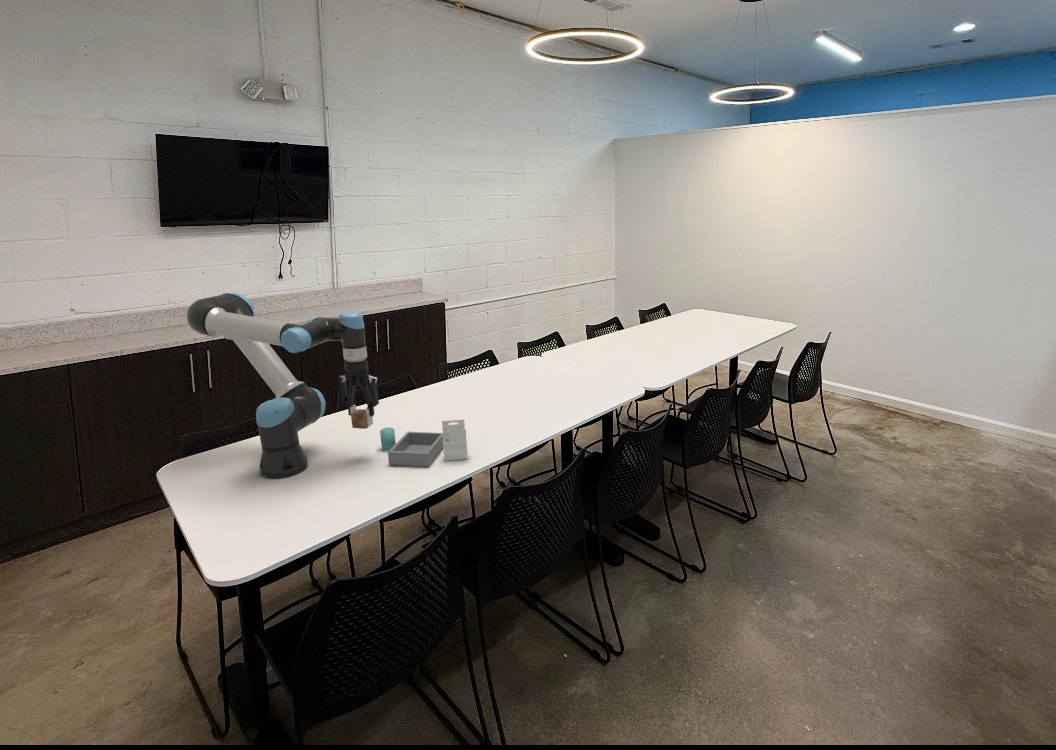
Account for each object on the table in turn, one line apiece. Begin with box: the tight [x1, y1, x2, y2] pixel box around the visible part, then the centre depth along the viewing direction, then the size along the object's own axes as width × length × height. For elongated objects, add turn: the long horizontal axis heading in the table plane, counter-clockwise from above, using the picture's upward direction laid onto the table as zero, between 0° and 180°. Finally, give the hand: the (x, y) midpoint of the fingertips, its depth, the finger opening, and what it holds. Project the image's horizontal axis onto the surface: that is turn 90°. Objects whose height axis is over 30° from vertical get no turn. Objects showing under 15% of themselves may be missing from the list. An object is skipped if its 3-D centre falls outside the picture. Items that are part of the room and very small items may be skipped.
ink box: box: [441, 419, 469, 462], centre depth 199 cm, size 4×8×15 cm, turn 96°
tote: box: [387, 431, 444, 468], centre depth 204 cm, size 14×18×5 cm
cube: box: [350, 408, 370, 430], centre depth 200 cm, size 5×5×5 cm
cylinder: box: [379, 427, 397, 452], centre depth 211 cm, size 5×5×7 cm
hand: (362, 424), depth 200 cm, fingers closed on cube, 5 cm apart
